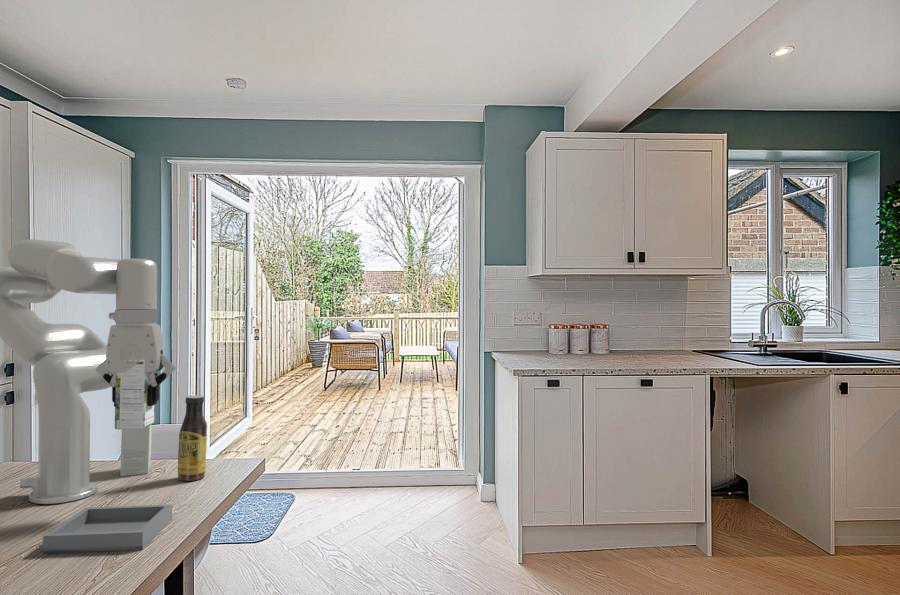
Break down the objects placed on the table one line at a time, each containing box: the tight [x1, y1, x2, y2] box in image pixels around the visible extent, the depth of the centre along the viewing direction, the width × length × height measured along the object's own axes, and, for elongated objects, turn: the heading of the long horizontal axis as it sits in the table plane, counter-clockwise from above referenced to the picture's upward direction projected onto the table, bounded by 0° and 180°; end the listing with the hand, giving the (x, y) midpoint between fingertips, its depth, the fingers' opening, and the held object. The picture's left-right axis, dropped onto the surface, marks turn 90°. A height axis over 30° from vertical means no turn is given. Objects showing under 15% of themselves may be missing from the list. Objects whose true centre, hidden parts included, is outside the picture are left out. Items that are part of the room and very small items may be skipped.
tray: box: [42, 504, 173, 555], centre depth 107 cm, size 16×14×3 cm
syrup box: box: [114, 358, 156, 430], centre depth 121 cm, size 6×6×14 cm
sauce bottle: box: [177, 394, 208, 482], centre depth 142 cm, size 6×6×20 cm
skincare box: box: [120, 424, 153, 477], centre depth 148 cm, size 8×7×16 cm
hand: (135, 404), depth 121 cm, fingers closed on syrup box, 5 cm apart
